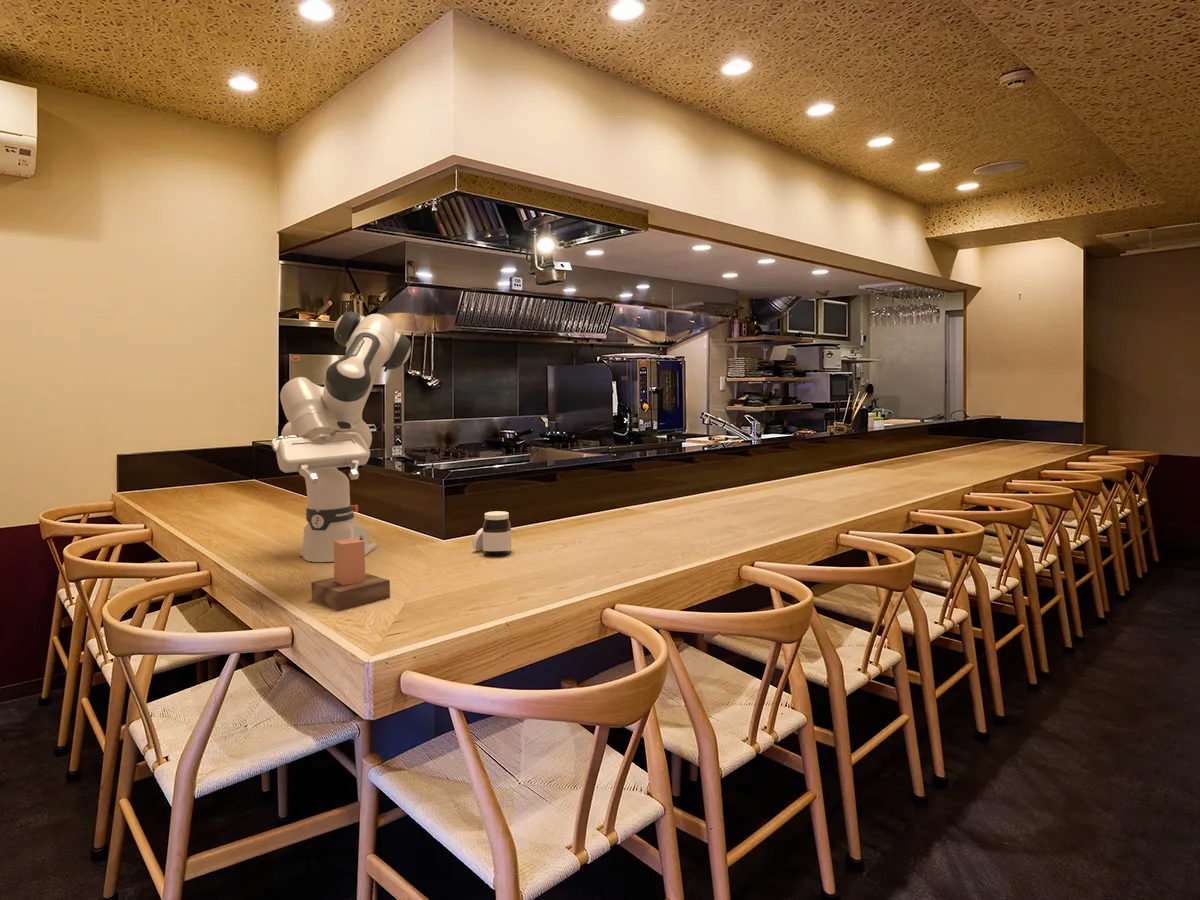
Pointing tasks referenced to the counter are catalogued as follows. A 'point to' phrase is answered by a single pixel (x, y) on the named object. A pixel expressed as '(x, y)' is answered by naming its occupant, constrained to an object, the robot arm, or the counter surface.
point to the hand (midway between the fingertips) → (335, 480)
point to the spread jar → (494, 534)
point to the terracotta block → (349, 561)
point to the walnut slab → (350, 592)
